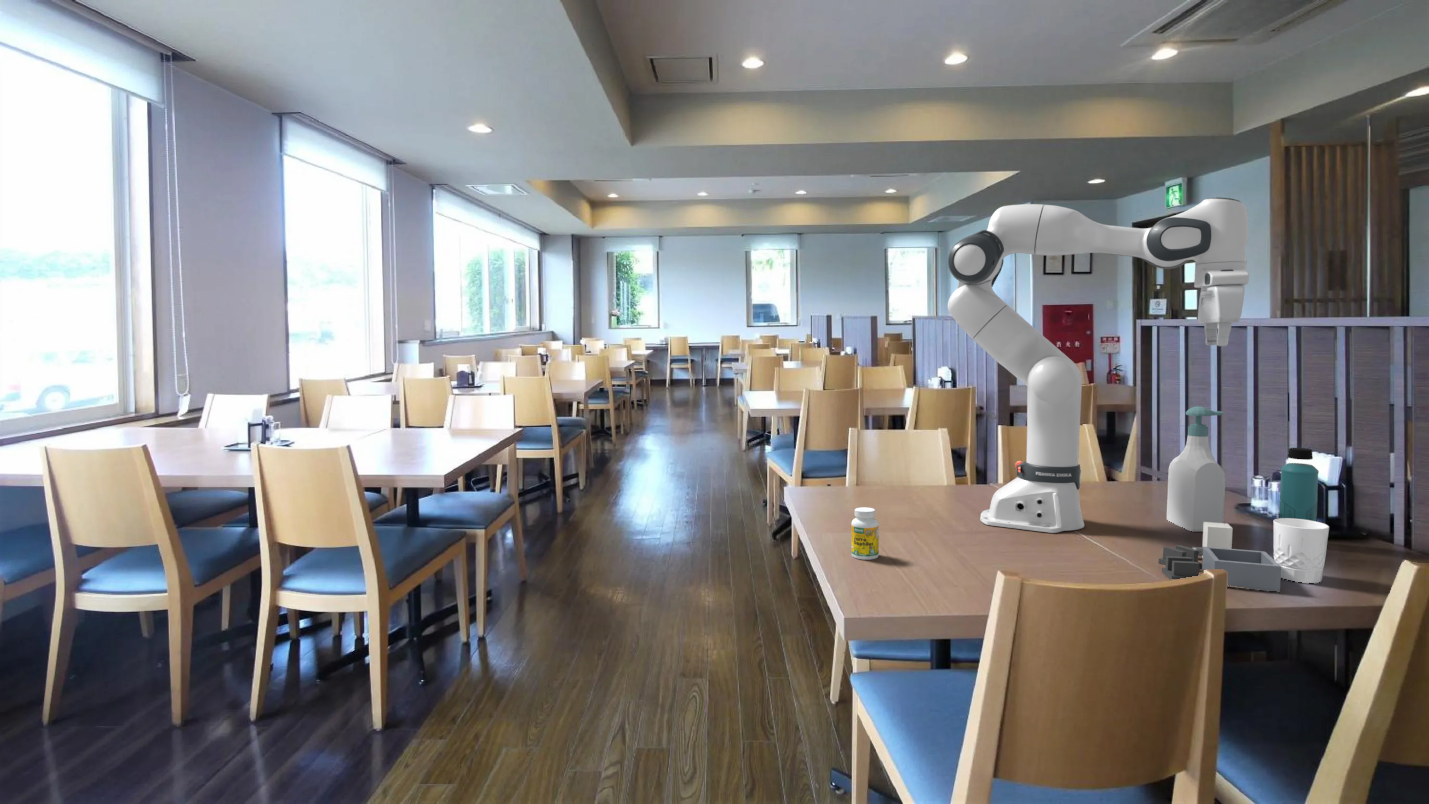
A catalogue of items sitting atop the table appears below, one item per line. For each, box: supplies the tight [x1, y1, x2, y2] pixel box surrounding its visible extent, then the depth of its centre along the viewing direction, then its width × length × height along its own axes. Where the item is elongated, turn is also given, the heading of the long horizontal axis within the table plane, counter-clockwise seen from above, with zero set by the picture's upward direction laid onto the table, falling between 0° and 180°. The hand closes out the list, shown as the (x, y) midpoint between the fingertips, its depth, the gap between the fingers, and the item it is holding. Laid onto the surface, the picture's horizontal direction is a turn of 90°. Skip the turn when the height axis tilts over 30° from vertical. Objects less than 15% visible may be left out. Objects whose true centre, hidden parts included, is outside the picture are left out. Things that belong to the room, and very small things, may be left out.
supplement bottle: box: [850, 506, 880, 561], centre depth 153 cm, size 5×5×10 cm
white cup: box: [1272, 518, 1330, 584], centre depth 137 cm, size 8×8×10 cm
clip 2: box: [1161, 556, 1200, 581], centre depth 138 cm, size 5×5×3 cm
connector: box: [1191, 522, 1234, 558], centre depth 148 cm, size 6×4×7 cm, turn 68°
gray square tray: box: [1201, 547, 1281, 593], centre depth 136 cm, size 10×10×4 cm
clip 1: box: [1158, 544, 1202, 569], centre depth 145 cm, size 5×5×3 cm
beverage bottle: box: [1277, 447, 1319, 522], centre depth 159 cm, size 6×7×20 cm
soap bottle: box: [1166, 406, 1227, 533], centre depth 173 cm, size 11×8×27 cm
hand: (1216, 345), depth 158 cm, fingers open, 8 cm apart
